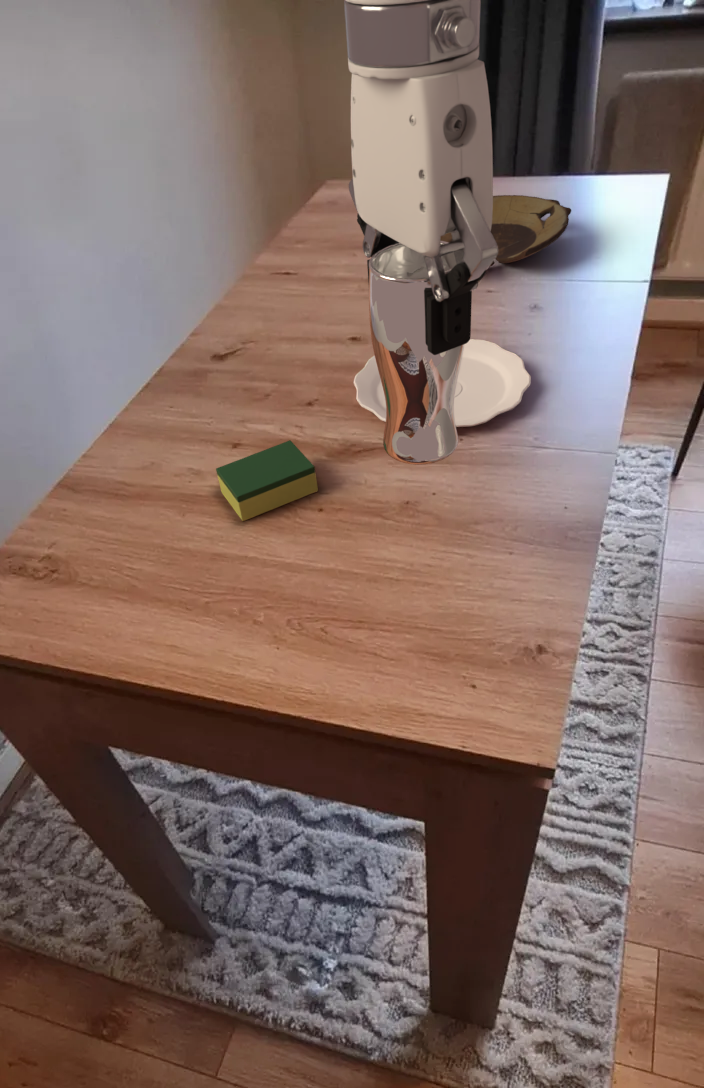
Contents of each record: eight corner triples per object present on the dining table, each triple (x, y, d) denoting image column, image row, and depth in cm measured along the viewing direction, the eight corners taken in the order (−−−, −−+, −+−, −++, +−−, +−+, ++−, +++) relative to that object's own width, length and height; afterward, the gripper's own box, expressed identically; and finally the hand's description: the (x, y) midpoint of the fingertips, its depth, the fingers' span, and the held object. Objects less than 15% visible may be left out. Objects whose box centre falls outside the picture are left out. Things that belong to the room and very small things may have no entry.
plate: (496, 454, 87) (497, 441, 86) (326, 422, 95) (325, 410, 94) (549, 360, 99) (550, 348, 98) (395, 339, 108) (394, 327, 106)
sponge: (294, 464, 90) (290, 439, 88) (318, 491, 86) (314, 466, 84) (221, 492, 88) (215, 468, 85) (242, 521, 84) (236, 497, 81)
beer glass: (369, 465, 63) (354, 280, 53) (388, 416, 68) (378, 237, 57) (456, 472, 62) (459, 282, 51) (470, 421, 66) (475, 237, 55)
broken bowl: (580, 281, 114) (586, 225, 108) (370, 295, 118) (366, 242, 112) (560, 220, 129) (565, 169, 124) (375, 235, 133) (373, 186, 128)
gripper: (567, 38, 40) (537, 357, 53) (389, 2, 52) (399, 272, 64) (443, 71, 38) (442, 395, 51) (286, 27, 50) (317, 300, 62)
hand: (418, 325), depth 58 cm, fingers closed on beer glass, 7 cm apart
